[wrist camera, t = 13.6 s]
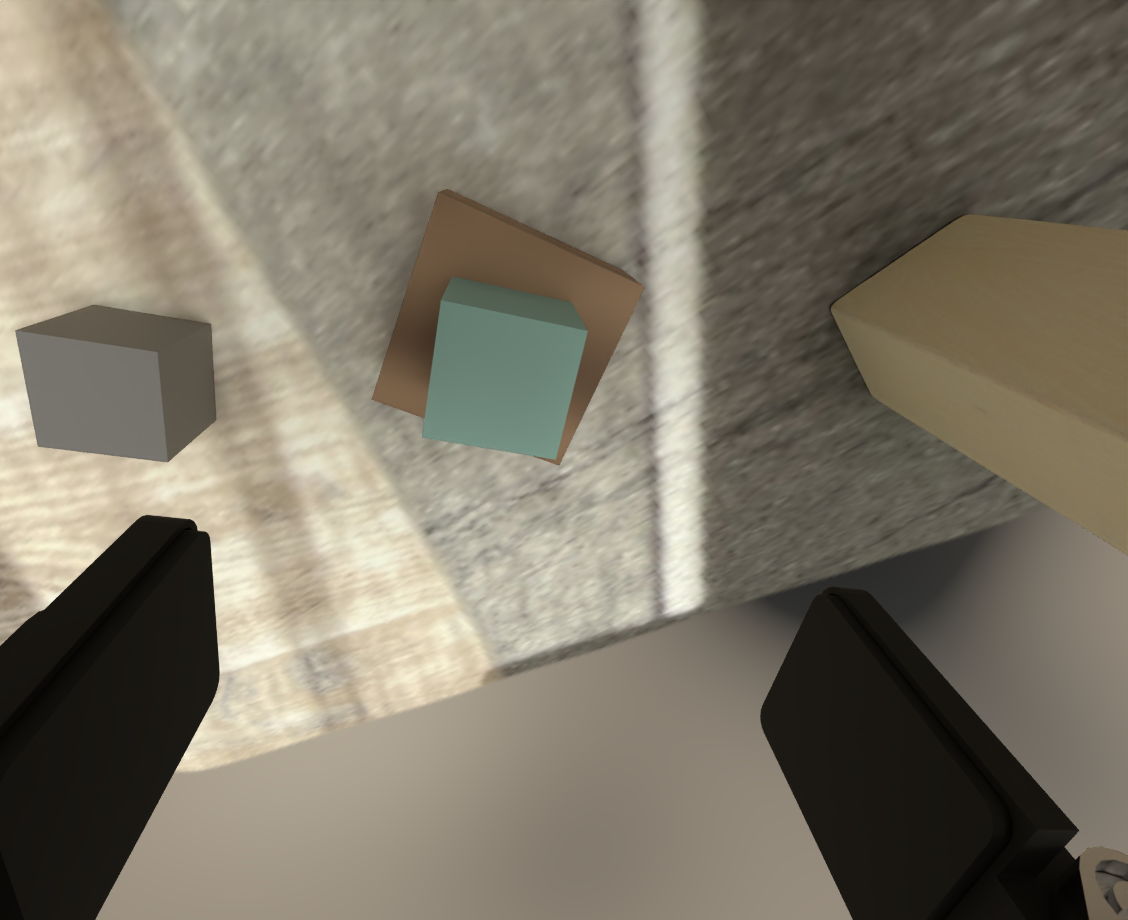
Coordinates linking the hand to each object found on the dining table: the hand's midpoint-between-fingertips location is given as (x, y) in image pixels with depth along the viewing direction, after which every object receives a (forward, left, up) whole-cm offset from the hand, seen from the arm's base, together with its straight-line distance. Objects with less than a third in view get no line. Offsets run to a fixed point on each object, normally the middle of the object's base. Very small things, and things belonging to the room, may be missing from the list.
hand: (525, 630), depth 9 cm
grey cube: (+5, -16, -23) cm, 28 cm away
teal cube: (0, 0, -18) cm, 18 cm away
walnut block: (0, 0, -23) cm, 23 cm away
